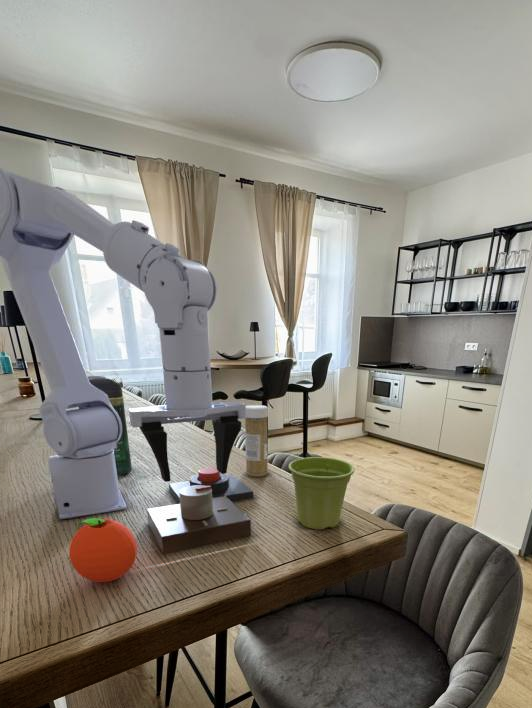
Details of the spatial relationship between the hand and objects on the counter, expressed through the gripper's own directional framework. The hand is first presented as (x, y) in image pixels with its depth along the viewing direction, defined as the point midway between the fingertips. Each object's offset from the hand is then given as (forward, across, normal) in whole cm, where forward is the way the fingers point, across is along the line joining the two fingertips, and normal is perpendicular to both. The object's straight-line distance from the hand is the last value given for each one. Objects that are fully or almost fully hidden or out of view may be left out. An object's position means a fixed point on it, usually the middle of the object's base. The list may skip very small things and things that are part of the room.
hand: (194, 475), depth 55 cm
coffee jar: (+8, -8, +34) cm, 36 cm away
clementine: (+8, -13, -7) cm, 17 cm away
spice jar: (+8, +18, +20) cm, 28 cm away
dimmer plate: (+8, 0, 0) cm, 8 cm away
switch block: (+8, +6, +13) cm, 16 cm away
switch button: (+6, +6, +13) cm, 15 cm away
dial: (+6, 0, 0) cm, 6 cm away
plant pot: (+8, +17, -5) cm, 20 cm away
